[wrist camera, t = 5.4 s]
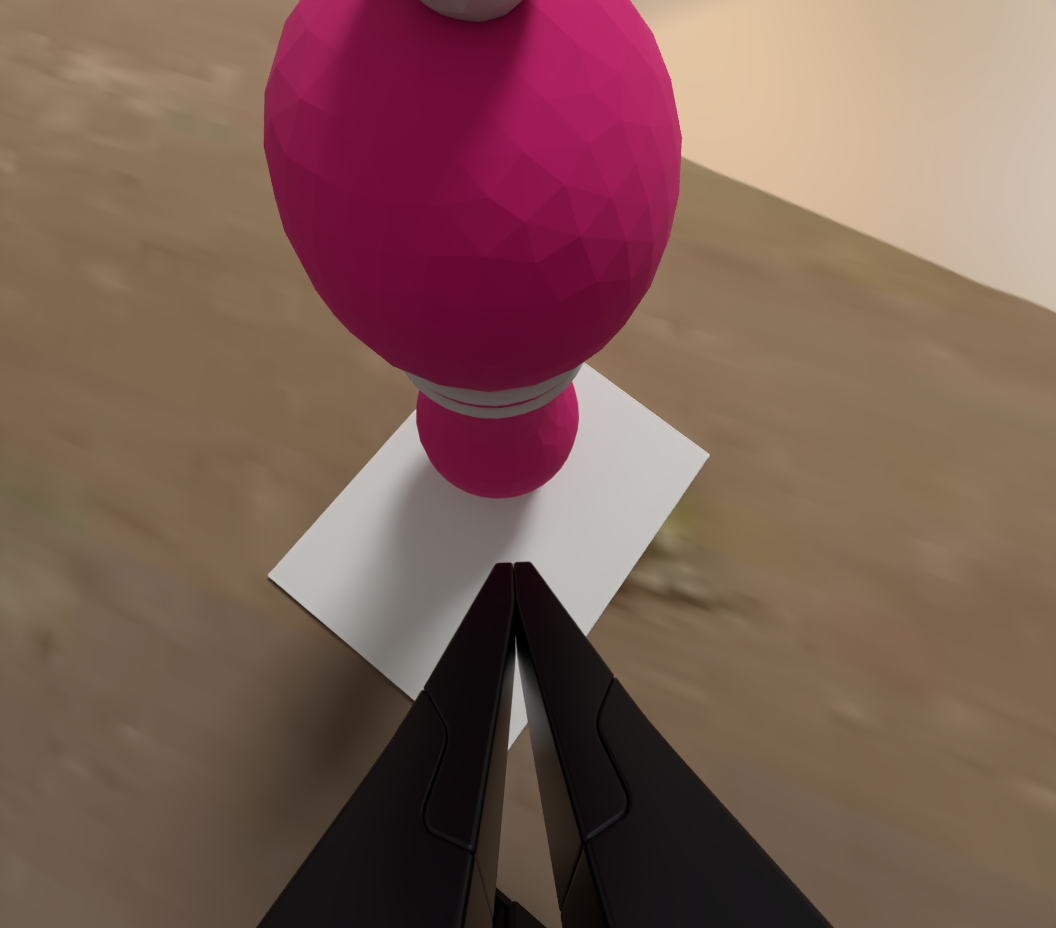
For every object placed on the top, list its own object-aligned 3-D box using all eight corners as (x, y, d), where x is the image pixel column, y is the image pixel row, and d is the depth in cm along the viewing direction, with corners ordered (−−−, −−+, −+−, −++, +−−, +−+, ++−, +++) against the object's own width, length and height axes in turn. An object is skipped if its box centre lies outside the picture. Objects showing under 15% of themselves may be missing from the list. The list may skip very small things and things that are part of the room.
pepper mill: (410, 461, 21) (-708, -425, 2) (482, 360, 23) (322, -777, 3) (520, 531, 21) (729, 428, 1) (586, 424, 22) (1173, -415, 3)
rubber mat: (495, 767, 19) (495, 769, 19) (269, 575, 20) (267, 575, 20) (708, 455, 23) (710, 454, 22) (507, 308, 24) (507, 306, 23)
